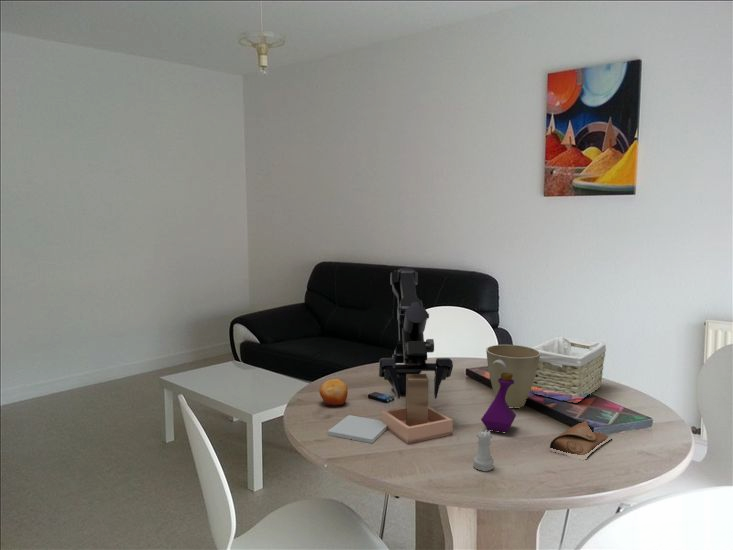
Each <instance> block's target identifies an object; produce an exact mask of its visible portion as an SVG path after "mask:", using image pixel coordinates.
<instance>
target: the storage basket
mask: <svg viewBox="0 0 733 550" xmlns="http://www.w3.org/2000/svg"><path fill="white" fill-rule="evenodd" d="M606 346H607V345H606V344H605V342H604V341H603V342H599V341H595V340H594V341H593V340H588V339H587V340H586V339H582V338H581V339H580V338H573V337H566V336H561V335H560V336H556V337H553V338H550V339H548V340H547V341H544V342H541V343H540V344H538V345H536V346H532V348H533V349H535V350H538V351H539V352H540V358H539V363H538V367H537V371H536V375H535V378H534V382H533V385H532V387H537V388H540V389H544V390H548V391H554V392H558V393H563V394H567V395H572V396H576V397H579V395H583V394H585V393H592V392H593V393H594V392H596V391H597V390H599V389H600V388H601V387H602V386H603V384H602V379H603V374H604V373H603V370H604V363H605V362H604V361H605V357H606V352H607V349H606V348H607V347H606ZM572 347H573V348H580V349H587V350H589V351H587V352H585V353H584V354H583V353H579V352H573V351H571V350H572ZM600 386H601V387H600ZM532 387H531V388H532ZM599 387H600V388H599ZM598 388H599V389H598ZM595 390H596V391H595ZM593 393H592V394H593Z"/></svg>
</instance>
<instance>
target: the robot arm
mask: <svg viewBox="0 0 733 550" xmlns="http://www.w3.org/2000/svg"><path fill="white" fill-rule="evenodd" d="M418 275H419V274H418V271H416V270H415V269H413V268H399V269H397V270H394V271H391V272H390V279H389V280H390V282H389V283H390V285H391V287H392V293H393V294H394V296H395V297H396V299H397V308H396V309H397V310H396V312H397V313H396V315H397V317H396V318H397V321H398V322H397V323H398V343H397V344H396V345H395V349H394V353H393V354H392V357H381V358H380V359H379V360H378V361H379V363H378V376H379V377H380V378H383V379H384V380H385V381H388V382H389V384H390V385H391V387H392V388H391V391H392V392H394V393H395V395H396V397H397V399H399V400H400V399H401V396H402V397H403V396H406V374H422V372H434V379H433V381H434V384H433V387H434V388H433V395H434V399H437V398H438V393H439V388H440V386H441V383H442V381H445V380H446V379H447V378H449V377H451V375H452V371H453V368H454V363H453V360H452V358H450V357H436V358H435V359H436V360H435V362H432V363H429V362H427V361H428V353H434V352H435V342H434V340H435V339H434V338H426V340H425V338H424V337H425V336H424V332H425V330H426V325H427V321H428V319H429V318H430V314H429V312H428V311H427V310H426V307H424V306H423V301H422V300H421V299H420V298H419V297H418V295H417V290H416V286H417V285H418V283H419V282H418V280H419V279H418V278H419V277H418Z"/></svg>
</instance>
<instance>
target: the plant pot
mask: <svg viewBox="0 0 733 550" xmlns="http://www.w3.org/2000/svg"><path fill="white" fill-rule="evenodd" d="M485 351H486V359H487V368H488V373H489V378H490V379H489V380H490V382H491V387H492V391H493V395H494V398H495V397H496V395H497V393H498V391H499V389H500V383H499V382H498V379H500V378H501V374H502V373H506V368H507V373H512V374H513V376H512V380H514V384H512V385H511V386H510V387H509V388H508V390H507V392H506V396H505V400H506V403H507V405H508V406H509V407H513V408H515V407H522V406H523V407H524V406H525V404H526V401H527V400H528V398H529V396H530V393H531V391H532V385H533V382H534V378H535V375H536V371H537V367H538V363H539V358H540V352H539V351H538V350H535V349H533V347H529V346H524V345H517V344H495V345H489V346H487V347H486V350H485ZM496 360H502V361H503V362H504V363H505V364H506V368H505V367H504V366H503V365H502V364H500V363H498V362H495V363H494V364H493V362H494V361H496ZM492 364H493V368H492ZM526 399H527V400H526ZM523 407H522V408H523Z"/></svg>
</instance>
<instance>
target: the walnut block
mask: <svg viewBox="0 0 733 550" xmlns="http://www.w3.org/2000/svg"><path fill="white" fill-rule="evenodd" d="M428 406H429V378H428V376H427V374H426V373H420V374H406V395H405V407H406V425H408V426H409V427H410V426H415V425H420V424H425V423H428Z"/></svg>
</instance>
